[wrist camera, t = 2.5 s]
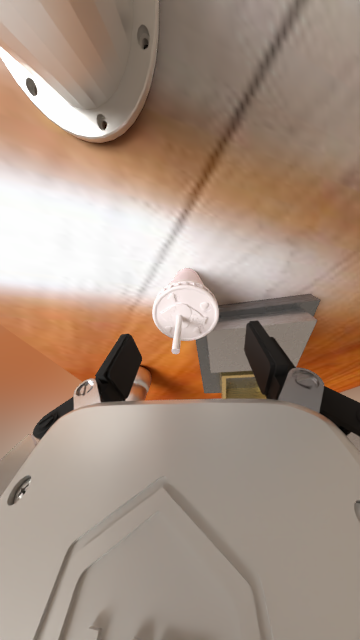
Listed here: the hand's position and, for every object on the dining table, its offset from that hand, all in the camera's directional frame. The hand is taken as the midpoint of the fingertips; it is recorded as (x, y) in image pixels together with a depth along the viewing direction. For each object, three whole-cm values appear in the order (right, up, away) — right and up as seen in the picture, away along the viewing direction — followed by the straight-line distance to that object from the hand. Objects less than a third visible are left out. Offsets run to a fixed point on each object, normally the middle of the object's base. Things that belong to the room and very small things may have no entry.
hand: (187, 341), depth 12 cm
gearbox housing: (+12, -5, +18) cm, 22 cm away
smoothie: (0, +8, +10) cm, 12 cm away
